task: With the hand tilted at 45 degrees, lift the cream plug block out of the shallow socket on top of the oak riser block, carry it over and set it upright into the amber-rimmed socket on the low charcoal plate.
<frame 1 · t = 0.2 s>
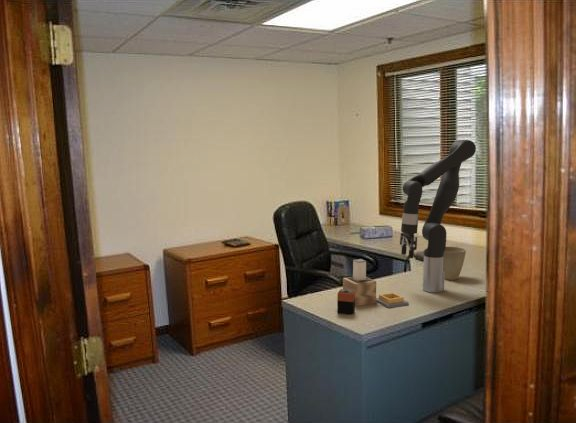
hand: (407, 256, 234), 18 cm above the table, tool pointing down, fingers open, 8 cm apart
upper jack: (359, 300, 223), on the table
lower jack: (391, 302, 220), on the table
battery: (346, 313, 208), on the table
plug: (359, 279, 222), point 10 cm above the table, touching upper jack
plant pot: (450, 278, 261), on the table
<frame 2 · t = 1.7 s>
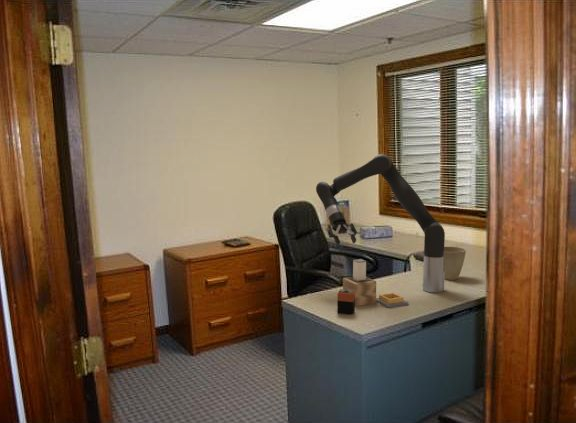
hand: (346, 243, 231), 25 cm above the table, tool tilted 45°, fingers open, 8 cm apart
nothing on the table moved.
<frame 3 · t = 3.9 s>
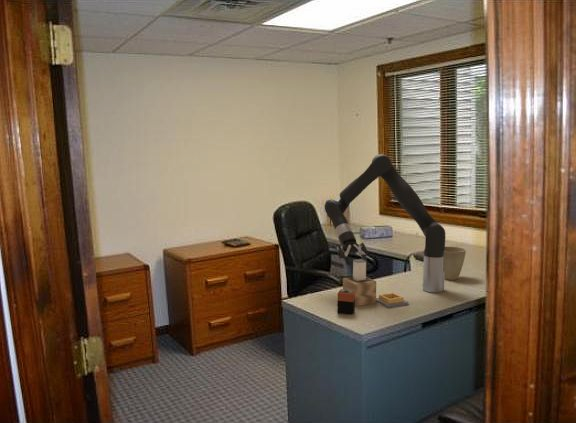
hand: (357, 263, 223), 17 cm above the table, tool tilted 45°, fingers open, 8 cm apart
nothing on the table moved.
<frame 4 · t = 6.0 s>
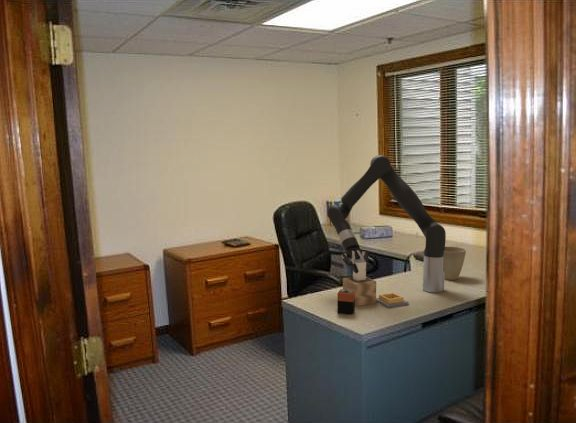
hand: (361, 271, 220), 14 cm above the table, tool tilted 45°, fingers closed on plug, 4 cm apart
plug: (359, 279, 222), point 10 cm above the table, touching gripper, upper jack
everything else where it was.
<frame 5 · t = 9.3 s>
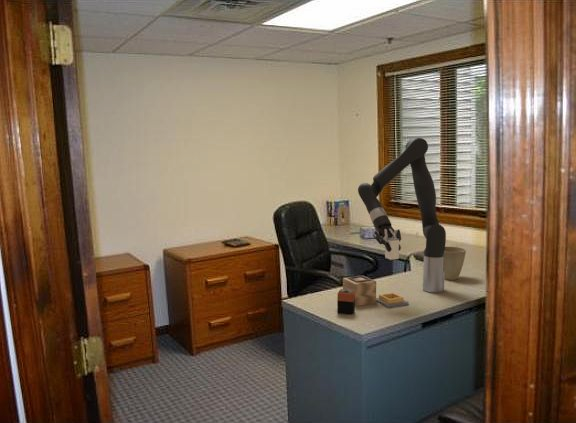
hand: (394, 250, 215), 25 cm above the table, tool tilted 45°, fingers closed on plug, 4 cm apart
plug: (391, 258, 218), point 21 cm above the table, touching gripper
everything else where it was.
when the fingers open (7 cm above the table, at t = 12.5 s): plug drops 1 cm, resting on lower jack.
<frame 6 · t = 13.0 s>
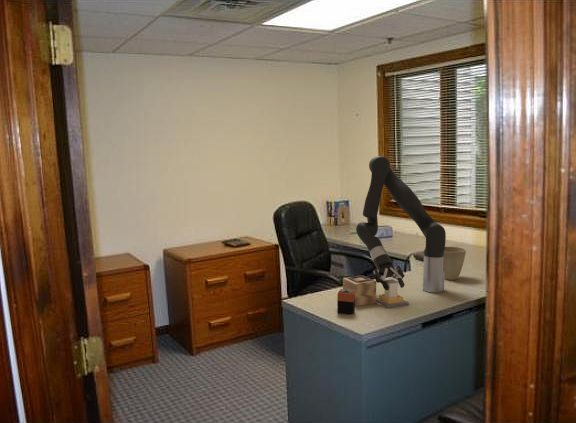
hand: (395, 288, 218), 7 cm above the table, tool tilted 45°, fingers open, 8 cm apart
plug: (390, 300, 220), point 1 cm above the table, touching lower jack
everything else where it was.
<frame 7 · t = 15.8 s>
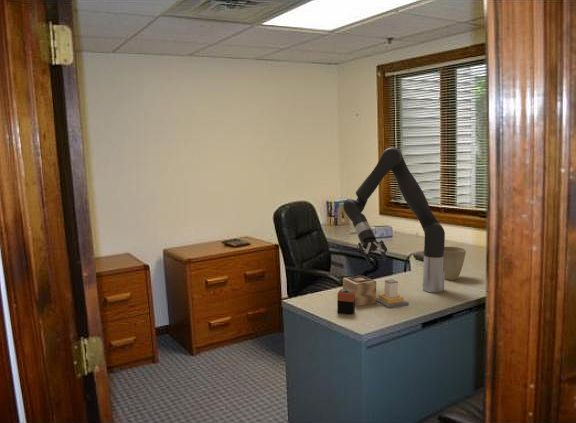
hand: (377, 261, 228), 17 cm above the table, tool tilted 45°, fingers open, 8 cm apart
nothing on the table moved.
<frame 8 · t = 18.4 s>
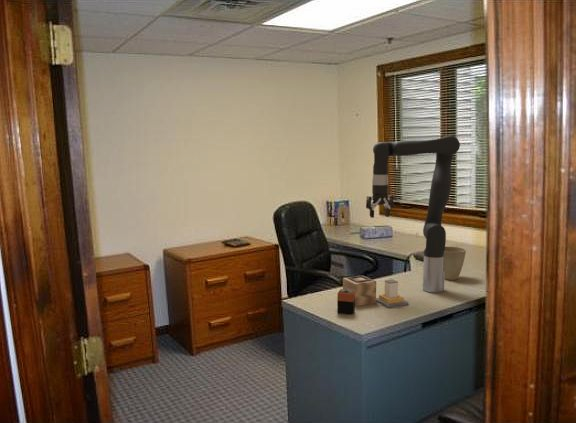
hand: (379, 217, 238), 36 cm above the table, tool pointing down, fingers open, 8 cm apart
nothing on the table moved.
at the end: plug 0.1 cm off-centre on the lower jack, point 1.2 cm above the lower jack's base; plug tilted 0°; the gripper is holding nothing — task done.
